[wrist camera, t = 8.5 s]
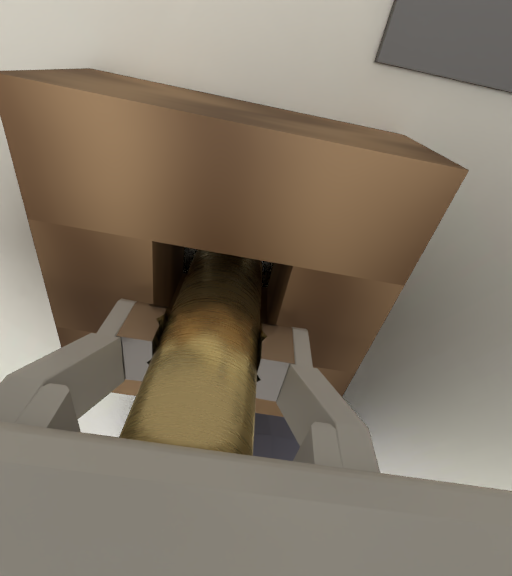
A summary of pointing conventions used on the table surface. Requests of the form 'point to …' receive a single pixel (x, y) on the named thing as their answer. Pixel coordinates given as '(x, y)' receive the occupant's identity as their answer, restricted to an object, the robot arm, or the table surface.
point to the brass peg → (205, 361)
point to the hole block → (218, 204)
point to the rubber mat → (452, 40)
